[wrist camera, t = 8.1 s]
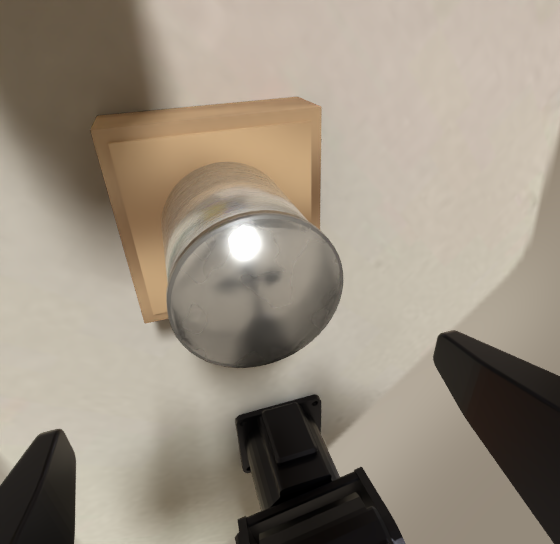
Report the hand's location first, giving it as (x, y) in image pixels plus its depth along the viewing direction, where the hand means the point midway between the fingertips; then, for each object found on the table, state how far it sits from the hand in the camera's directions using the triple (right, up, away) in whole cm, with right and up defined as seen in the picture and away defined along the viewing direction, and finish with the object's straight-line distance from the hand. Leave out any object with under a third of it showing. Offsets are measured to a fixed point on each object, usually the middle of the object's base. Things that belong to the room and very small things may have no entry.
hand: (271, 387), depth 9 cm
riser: (-3, +6, +11) cm, 13 cm away
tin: (-2, +5, +8) cm, 10 cm away
